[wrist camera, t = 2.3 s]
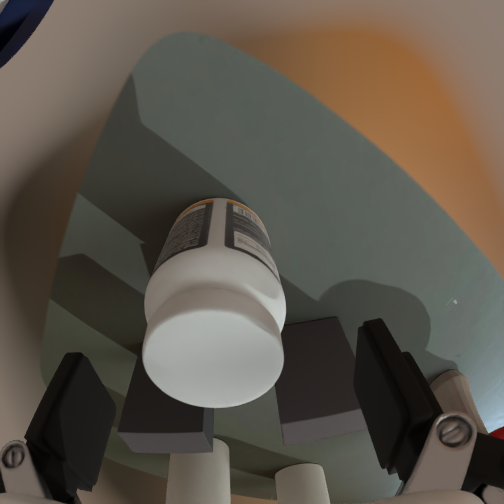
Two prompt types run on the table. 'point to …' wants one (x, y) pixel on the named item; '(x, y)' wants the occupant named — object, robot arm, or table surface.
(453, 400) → the decorative mushroom
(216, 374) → the pill bottle
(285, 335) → the dark grey rectangular block
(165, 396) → the dark grey block
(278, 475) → the white cylinder
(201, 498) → the white cylinder
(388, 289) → the table surface
